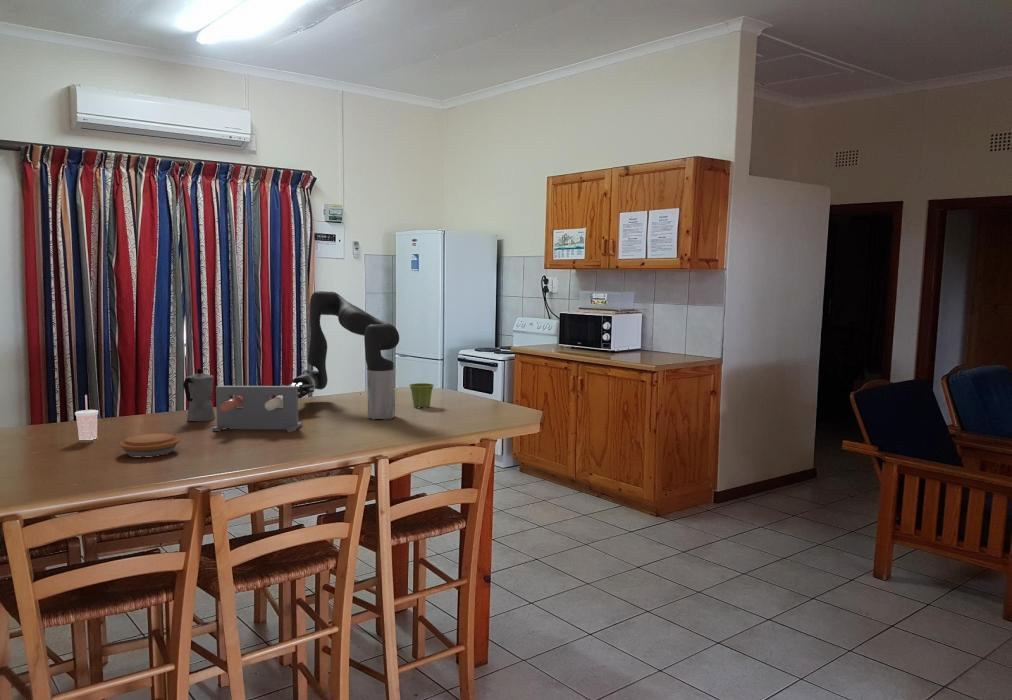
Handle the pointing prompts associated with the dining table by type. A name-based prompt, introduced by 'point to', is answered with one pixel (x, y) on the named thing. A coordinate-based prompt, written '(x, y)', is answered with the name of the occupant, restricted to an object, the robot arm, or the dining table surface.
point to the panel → (258, 408)
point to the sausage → (232, 403)
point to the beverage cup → (87, 423)
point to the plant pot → (421, 394)
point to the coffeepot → (199, 396)
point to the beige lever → (274, 403)
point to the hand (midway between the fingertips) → (290, 392)
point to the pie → (149, 444)
